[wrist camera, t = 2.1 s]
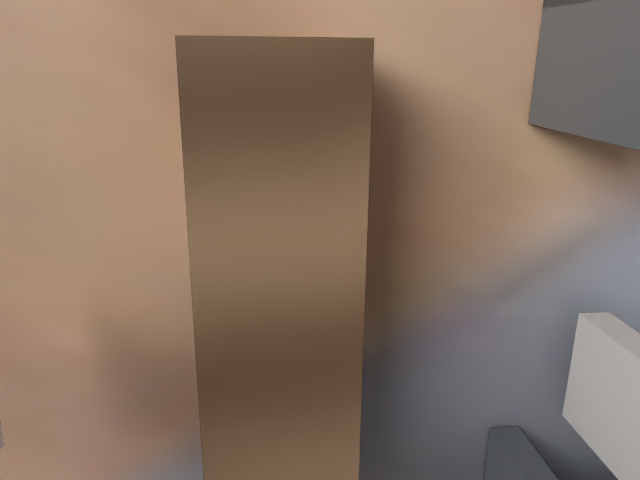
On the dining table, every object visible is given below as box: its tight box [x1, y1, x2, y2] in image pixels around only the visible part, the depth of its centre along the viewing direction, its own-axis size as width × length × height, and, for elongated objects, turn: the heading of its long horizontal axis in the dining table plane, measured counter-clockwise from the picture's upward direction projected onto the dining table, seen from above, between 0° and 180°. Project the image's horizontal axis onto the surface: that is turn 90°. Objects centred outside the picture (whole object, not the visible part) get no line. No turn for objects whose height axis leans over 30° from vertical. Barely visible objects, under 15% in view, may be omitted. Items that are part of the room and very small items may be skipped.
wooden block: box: [175, 36, 374, 480], centre depth 15 cm, size 14×4×5 cm, turn 179°
